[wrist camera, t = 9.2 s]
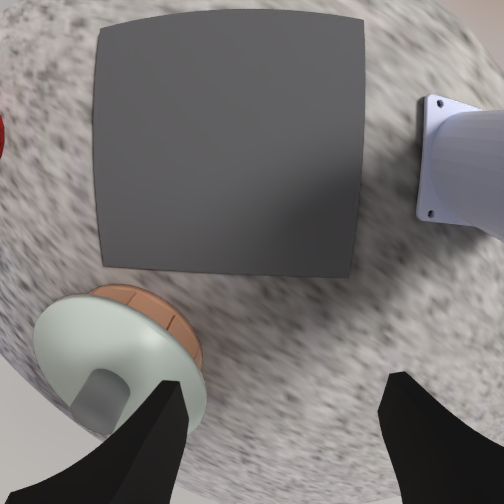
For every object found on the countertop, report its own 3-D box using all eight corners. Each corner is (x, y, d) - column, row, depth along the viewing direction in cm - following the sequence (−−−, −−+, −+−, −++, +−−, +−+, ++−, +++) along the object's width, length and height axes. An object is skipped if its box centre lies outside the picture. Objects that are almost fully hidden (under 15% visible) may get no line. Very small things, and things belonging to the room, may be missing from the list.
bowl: (198, 289, 20) (183, 323, 16) (206, 403, 24) (199, 439, 20) (62, 278, 20) (32, 302, 17) (93, 383, 24) (76, 412, 20)
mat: (361, 22, 14) (363, 20, 13) (346, 274, 19) (348, 278, 19) (103, 30, 14) (100, 28, 14) (107, 263, 20) (103, 266, 19)
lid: (194, 299, 16) (174, 346, 12) (216, 444, 20) (209, 486, 16) (17, 287, 16) (-19, 315, 13) (73, 417, 21) (55, 449, 17)
